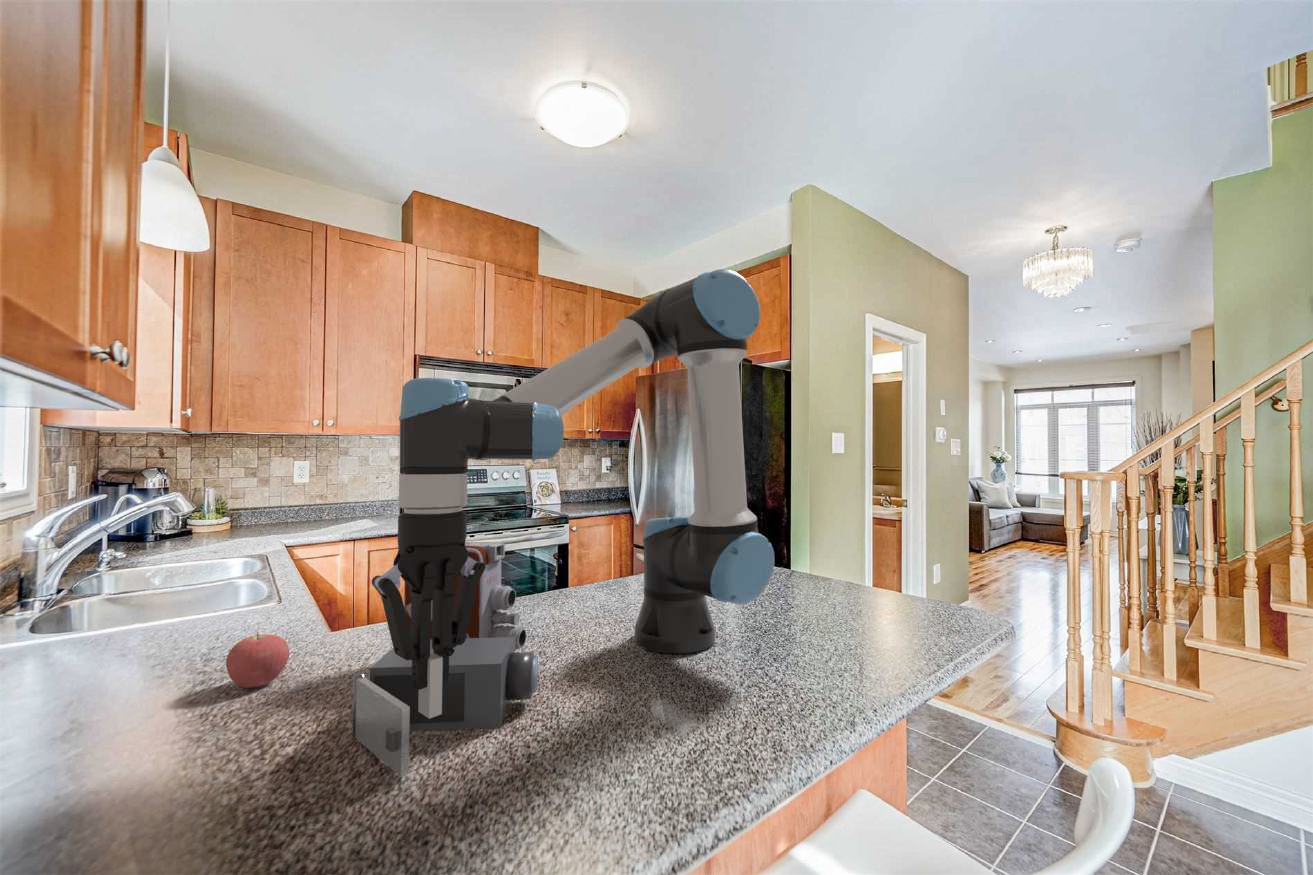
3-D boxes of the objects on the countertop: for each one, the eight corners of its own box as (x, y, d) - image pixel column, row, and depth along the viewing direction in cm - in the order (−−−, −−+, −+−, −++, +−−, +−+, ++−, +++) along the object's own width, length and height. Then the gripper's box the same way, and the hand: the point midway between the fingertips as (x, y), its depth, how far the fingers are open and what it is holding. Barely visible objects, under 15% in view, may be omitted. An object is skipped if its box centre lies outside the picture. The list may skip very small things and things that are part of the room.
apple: (213, 691, 77) (215, 636, 77) (265, 672, 84) (267, 621, 84) (247, 699, 75) (249, 642, 75) (298, 679, 81) (299, 626, 82)
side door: (344, 736, 64) (345, 676, 64) (361, 730, 65) (362, 671, 65) (394, 780, 55) (395, 710, 55) (412, 771, 57) (413, 703, 57)
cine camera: (506, 679, 81) (508, 549, 82) (395, 669, 85) (398, 544, 86) (532, 657, 90) (533, 540, 91) (431, 649, 94) (432, 536, 95)
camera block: (539, 691, 77) (540, 630, 77) (529, 726, 67) (529, 656, 67) (400, 697, 75) (401, 634, 76) (368, 733, 65) (369, 661, 66)
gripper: (467, 504, 70) (464, 685, 69) (361, 511, 60) (357, 723, 59) (499, 507, 65) (497, 702, 64) (390, 516, 55) (385, 747, 54)
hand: (429, 712), depth 62 cm, fingers closed
